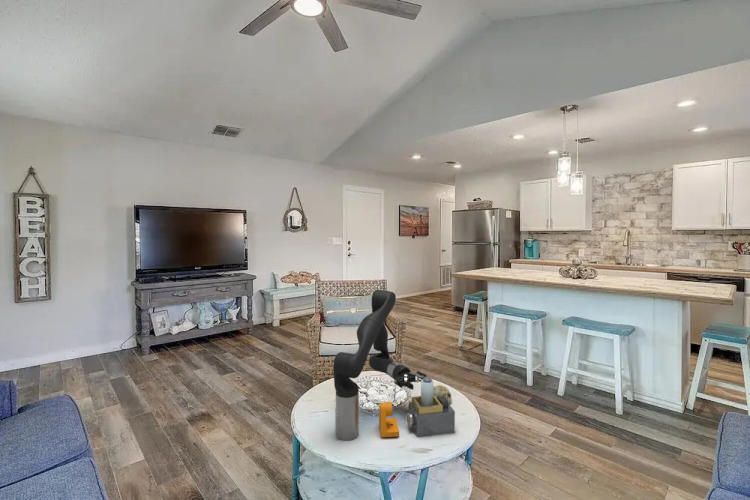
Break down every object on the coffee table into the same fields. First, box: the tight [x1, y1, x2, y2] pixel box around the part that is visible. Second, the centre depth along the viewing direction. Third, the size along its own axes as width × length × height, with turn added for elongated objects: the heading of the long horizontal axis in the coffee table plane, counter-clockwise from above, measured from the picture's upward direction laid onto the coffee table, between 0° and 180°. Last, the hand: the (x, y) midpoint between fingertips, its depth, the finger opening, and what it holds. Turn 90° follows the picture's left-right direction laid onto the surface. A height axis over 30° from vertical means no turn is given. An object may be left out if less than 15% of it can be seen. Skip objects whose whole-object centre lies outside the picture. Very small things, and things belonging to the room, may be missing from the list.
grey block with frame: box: [406, 395, 456, 438], centre depth 150 cm, size 18×11×12 cm, turn 101°
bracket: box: [378, 401, 400, 438], centre depth 148 cm, size 11×7×12 cm, turn 4°
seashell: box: [433, 384, 452, 406], centre depth 174 cm, size 10×10×10 cm
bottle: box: [420, 376, 434, 407], centre depth 150 cm, size 5×5×12 cm
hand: (420, 385), depth 153 cm, fingers open, 8 cm apart
